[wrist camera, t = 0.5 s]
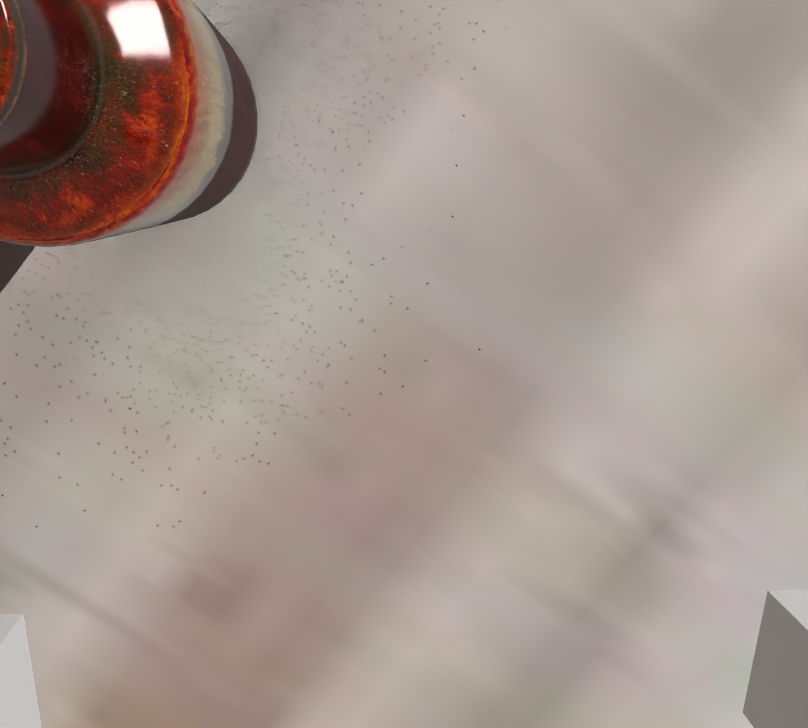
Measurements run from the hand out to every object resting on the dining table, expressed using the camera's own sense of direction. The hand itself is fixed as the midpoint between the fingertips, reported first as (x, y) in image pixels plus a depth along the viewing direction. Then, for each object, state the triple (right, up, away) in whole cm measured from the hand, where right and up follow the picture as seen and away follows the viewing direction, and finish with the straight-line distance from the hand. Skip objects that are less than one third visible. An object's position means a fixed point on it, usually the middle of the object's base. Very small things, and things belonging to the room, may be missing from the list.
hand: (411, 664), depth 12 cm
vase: (-13, +18, +22) cm, 32 cm away
